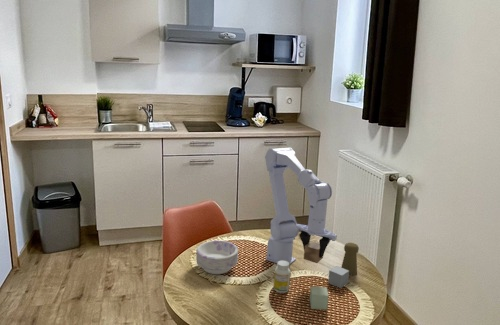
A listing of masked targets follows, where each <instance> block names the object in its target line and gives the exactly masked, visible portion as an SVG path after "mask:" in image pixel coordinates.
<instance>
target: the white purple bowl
mask: <svg viewBox="0 0 500 325" xmlns="http://www.w3.org/2000/svg"><path fill="white" fill-rule="evenodd" d="M195 254H196V255H195V256H196V257H195V258H196V265H198V266H199V267H200V268H202V269H203V270H204V271H205V272H206V273H208V274H212V275H221V274H225V273H227V272H229V271H230V270H232V268H234V267H235V266H237V264H238V261H239V248H238V246H237V245H236V244H234V243H232V242H230V241H226V240H209V241H205V242H203V243H202V242H201V244H199V245H198V246H197V247H196V253H195Z"/></svg>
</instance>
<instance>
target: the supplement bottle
mask: <svg viewBox="0 0 500 325" xmlns="http://www.w3.org/2000/svg"><path fill="white" fill-rule="evenodd" d="M276 264H277V265H276V267H275V269H274V274H273V276H274V277H273V278H274V280H273V290H274V291H276V292H277V293H280V294H283V293H287V292H289V290H290V285H291V284H290V283H291V273H292V271H291V269H290V264H289V262H287V261H283V260H282V261H278V263H276Z"/></svg>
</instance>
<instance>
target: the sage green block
mask: <svg viewBox="0 0 500 325" xmlns="http://www.w3.org/2000/svg"><path fill="white" fill-rule="evenodd" d="M328 292H329V291H328V287H326V286H312V285H311V286H310V292H309V293H310V294H309V302H310V303H309V305H310V309H312V310H325V311H326V310H328V303H329V293H328Z"/></svg>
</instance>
